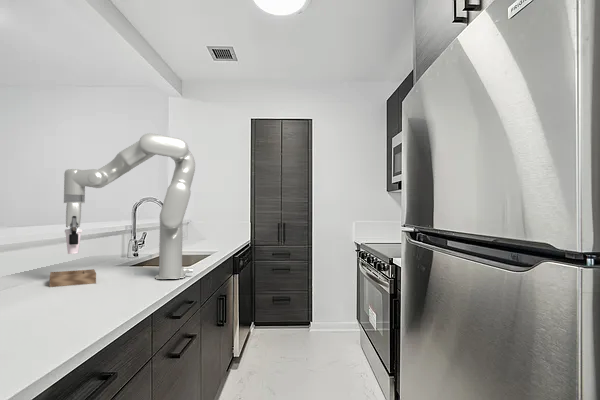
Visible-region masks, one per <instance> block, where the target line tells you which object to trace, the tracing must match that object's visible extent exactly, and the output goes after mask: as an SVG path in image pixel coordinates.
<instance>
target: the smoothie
mask: <svg viewBox="0 0 600 400" xmlns="http://www.w3.org/2000/svg"><path fill="white" fill-rule="evenodd" d="M71 227H72V226H71ZM64 233H65V240H66V247H67V248H66V249H67V254H68V255H75V254H79V250H80V245H81V237H82V233H83V229H80V228H78V244H74V245H70V244H69V235H70V228H68V229H67V228H66V229H64ZM71 234H72V232H71Z"/></svg>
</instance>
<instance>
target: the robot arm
mask: <svg viewBox="0 0 600 400" xmlns="http://www.w3.org/2000/svg"><path fill="white" fill-rule="evenodd" d="M156 155H157V156H163V157H168V158H170V159H172V160H173V161H174V163H175V168H174V170H173V174H172V178H171V182H170V184H169V185H168V187H167V190H166V193H165V196H164V199H163V203H162V206H161V210H160V213H159V245H158V247H159V249H158V250H159V251H158V252H159V254H158V255H159V256H158V257H159V258H158V259H159V260H158V274H156V275H155V276H154V278H156V279H155V280H157V279H175V278H180V277H184V276H185V277H186V274H189V273H190V274H192V273H194V269H193V268H192V267H191V268H187V267H183V221H184V218H185V216H186V213H187V212H186V210H187V208H188V204H189V201H190V197H191V192H192V191H191V186H192V183H193V179H194V175H195V173H196V172H195V171H196V161H195V160H196V159H195V157H194V156H193V154H192V152H191V151H190V149H189V146H188V143H187V142H186V141H185V140H184V139H182V138H179V137H173V136H168V135H161V134H156V133H151V132H149V133H144V134H143V135H141V136H140V138H139V140H138V141H136V142H134V143H133V144H131V145H129V146H128V147H125V148H124V149H122V150H121V151H119V152H118V153H117V154H116V155H115V157H114V158H113V159H112V160H111V161H109V162H108V163H106V164H105V165H103V166H102V167H100V168H98V169H94V168H92V169H78V168H77V169H76V168H75V169H74V168H71V169H70V168H69V169H65V171H64V173H63V175H64V176H63V180H64V181H63V182H64V183H63V204H66V209H65V227H66V229H67V228H68V229H70V235H69V244H70V245H74V244H78V229H79V227H81V220H82V219H81V218H82V204H85V201H86V196H85V195H86V188H87V187H89V188H94V189H101V188H104V187H106V186H107V185H110V184H111V183H112V182H115V181H116V180H117V179H119V178H121V177H122V176H123V175H125V174H127V173H128V172H130V171H132V170H133V169H135V168H137V166H139V165H141V164H143V163H144V162H146V161H147V160H149V159H151V158H153V157H155V156H156ZM71 226H72V227H71ZM71 232H72V234H71Z"/></svg>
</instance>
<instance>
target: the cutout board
mask: <svg viewBox="0 0 600 400" xmlns="http://www.w3.org/2000/svg"><path fill="white" fill-rule="evenodd" d="M91 284H97V273H96V270H95V269H92V268H91V269H79V270H77V269H76V270H61V271H50V274H49V287H50V288H53V287H66V286H77V285H78V286H80V285H91Z"/></svg>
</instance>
